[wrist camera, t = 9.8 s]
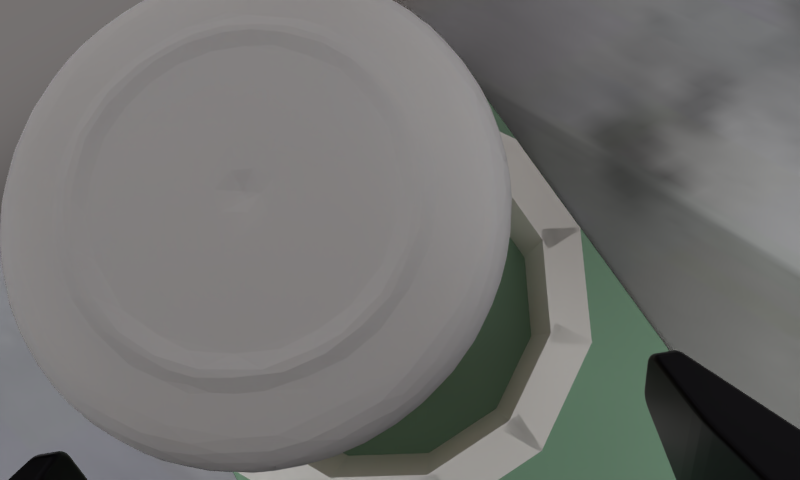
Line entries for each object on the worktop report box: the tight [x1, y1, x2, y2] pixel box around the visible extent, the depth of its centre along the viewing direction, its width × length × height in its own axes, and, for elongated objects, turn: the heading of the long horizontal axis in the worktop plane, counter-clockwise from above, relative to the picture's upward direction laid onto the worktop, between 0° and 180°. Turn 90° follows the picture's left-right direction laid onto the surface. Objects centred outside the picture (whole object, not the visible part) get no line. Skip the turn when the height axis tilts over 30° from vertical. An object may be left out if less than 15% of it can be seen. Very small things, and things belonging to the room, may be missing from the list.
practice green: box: [233, 98, 676, 480], centre depth 16 cm, size 18×13×4 cm
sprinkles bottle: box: [0, 0, 512, 473], centre depth 11 cm, size 5×5×13 cm
